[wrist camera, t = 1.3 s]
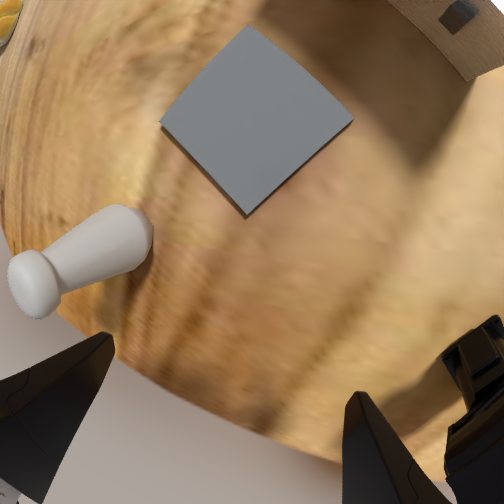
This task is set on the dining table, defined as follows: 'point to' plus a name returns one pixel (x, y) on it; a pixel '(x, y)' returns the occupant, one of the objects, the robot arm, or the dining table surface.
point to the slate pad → (253, 117)
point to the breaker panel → (461, 31)
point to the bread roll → (9, 19)
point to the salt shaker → (80, 258)
